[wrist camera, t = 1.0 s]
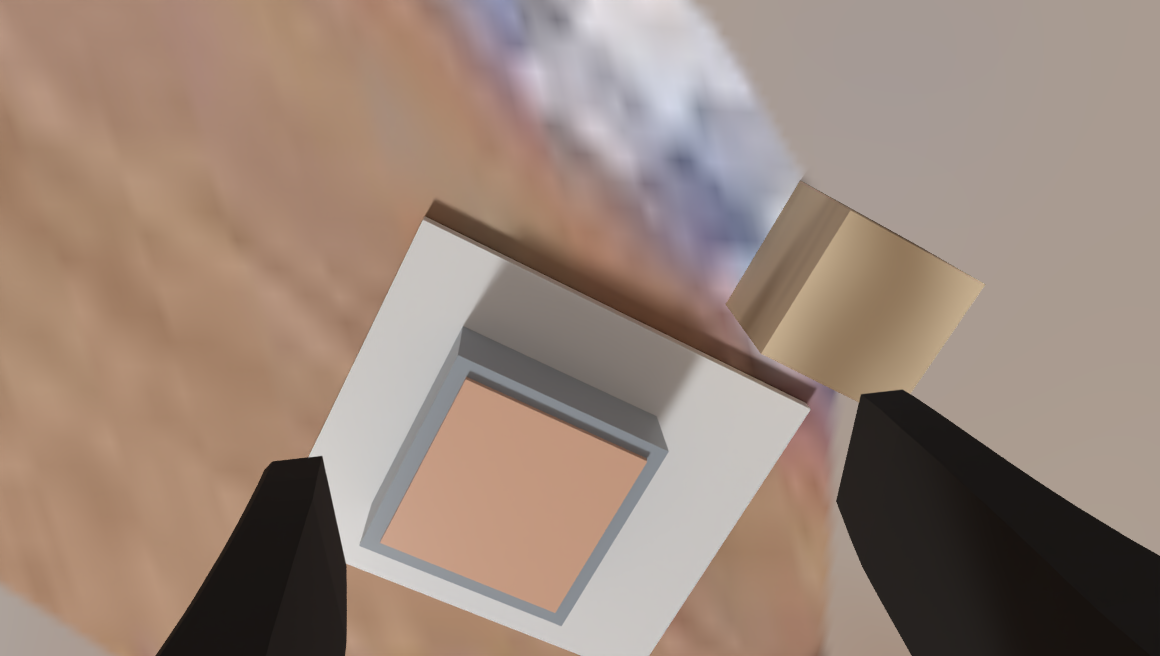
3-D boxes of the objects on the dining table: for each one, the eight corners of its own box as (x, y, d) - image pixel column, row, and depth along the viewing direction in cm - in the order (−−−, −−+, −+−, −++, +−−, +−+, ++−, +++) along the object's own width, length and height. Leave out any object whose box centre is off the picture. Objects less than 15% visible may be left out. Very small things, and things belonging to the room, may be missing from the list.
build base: (806, 403, 30) (838, 446, 27) (633, 667, 33) (645, 732, 30) (424, 215, 27) (413, 241, 24) (275, 526, 30) (248, 582, 27)
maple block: (915, 244, 29) (985, 284, 24) (839, 361, 30) (892, 419, 26) (799, 180, 28) (850, 210, 23) (725, 303, 29) (761, 353, 25)
